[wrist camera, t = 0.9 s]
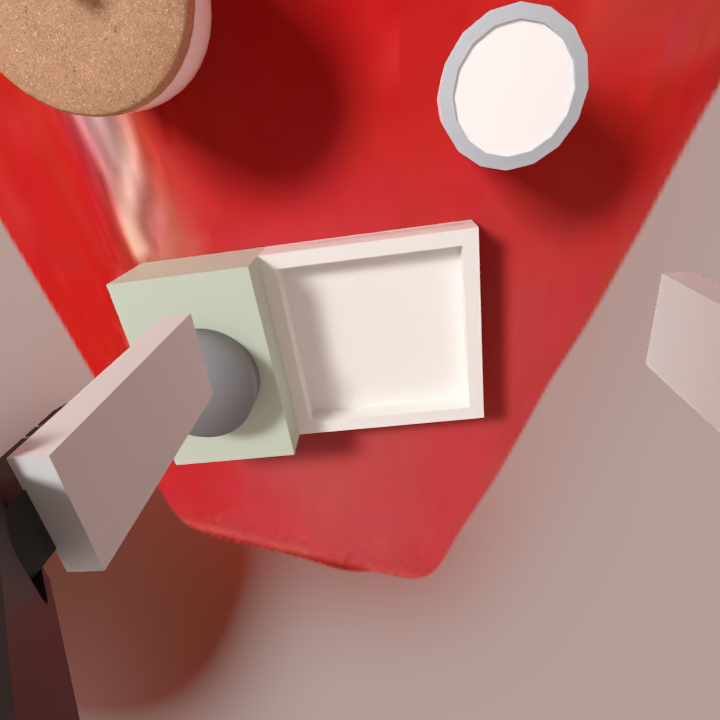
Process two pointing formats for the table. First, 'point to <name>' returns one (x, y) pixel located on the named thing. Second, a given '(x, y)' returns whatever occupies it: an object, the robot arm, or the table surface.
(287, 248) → the knobbed tray panel
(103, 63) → the lidded jar
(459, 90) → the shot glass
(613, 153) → the table surface
